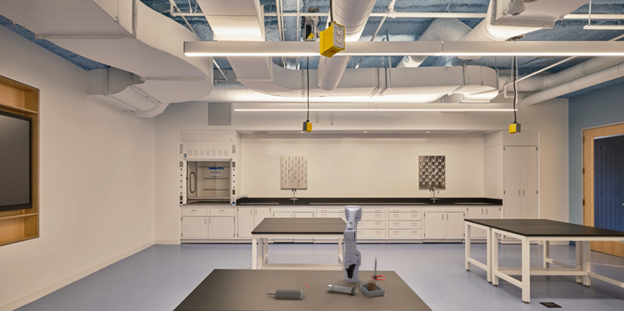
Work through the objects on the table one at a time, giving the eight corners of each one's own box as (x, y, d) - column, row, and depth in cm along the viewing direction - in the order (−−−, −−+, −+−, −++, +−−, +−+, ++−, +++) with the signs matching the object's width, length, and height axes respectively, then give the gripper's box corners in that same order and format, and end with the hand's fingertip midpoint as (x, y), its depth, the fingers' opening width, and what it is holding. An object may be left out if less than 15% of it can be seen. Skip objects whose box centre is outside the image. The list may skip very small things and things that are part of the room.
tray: (359, 289, 184) (359, 284, 184) (374, 287, 186) (374, 282, 187) (368, 297, 173) (368, 292, 174) (384, 295, 176) (384, 290, 176)
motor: (309, 301, 170) (309, 290, 171) (265, 300, 172) (266, 289, 172) (313, 291, 193) (313, 282, 194) (274, 290, 194) (274, 281, 195)
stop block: (367, 292, 179) (367, 282, 179) (368, 289, 182) (368, 280, 182) (374, 293, 177) (374, 283, 177) (376, 290, 181) (375, 280, 181)
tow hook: (384, 276, 208) (370, 277, 205) (384, 255, 208) (371, 256, 205) (391, 281, 200) (377, 282, 197) (392, 259, 200) (378, 259, 197)
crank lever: (325, 292, 180) (325, 286, 180) (328, 289, 184) (328, 283, 184) (353, 295, 175) (353, 289, 175) (355, 292, 179) (355, 286, 179)
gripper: (346, 248, 192) (346, 273, 191) (339, 255, 178) (339, 281, 178) (358, 249, 189) (359, 274, 189) (352, 256, 175) (352, 283, 175)
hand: (350, 278), depth 183 cm, fingers closed
